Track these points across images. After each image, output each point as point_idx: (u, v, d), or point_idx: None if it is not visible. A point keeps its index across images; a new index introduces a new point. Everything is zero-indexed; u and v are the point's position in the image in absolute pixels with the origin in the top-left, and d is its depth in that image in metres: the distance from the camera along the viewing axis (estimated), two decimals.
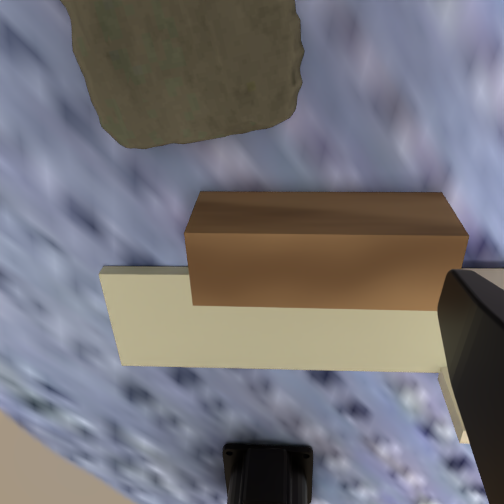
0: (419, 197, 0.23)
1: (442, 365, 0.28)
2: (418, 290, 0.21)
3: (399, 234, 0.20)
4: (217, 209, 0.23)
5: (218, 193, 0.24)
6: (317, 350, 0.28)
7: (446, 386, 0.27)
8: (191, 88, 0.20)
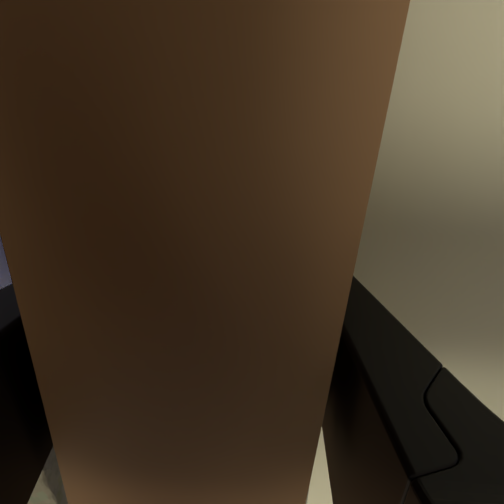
0: None
1: None
2: (263, 83, 0.04)
3: None
4: None
5: None
6: None
7: None
8: None
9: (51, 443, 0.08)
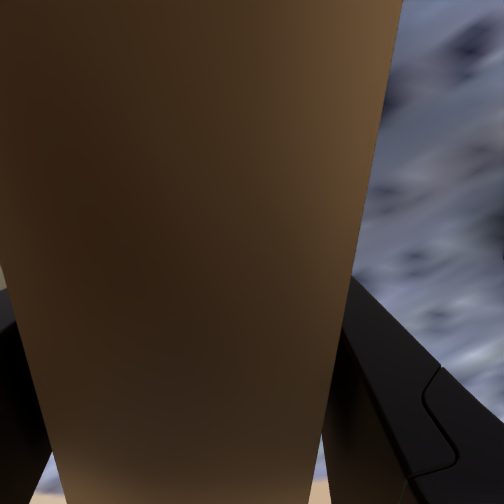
0: None
1: None
2: (255, 81, 0.04)
3: None
4: None
5: None
6: None
7: None
8: None
9: None
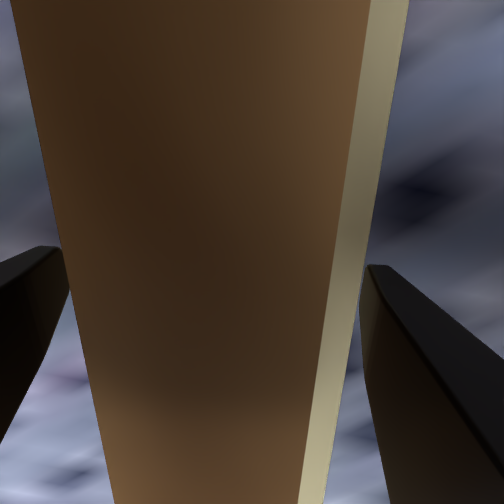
0: None
1: None
2: (261, 52, 0.05)
3: (42, 138, 0.06)
4: None
5: None
6: None
7: None
8: None
9: None
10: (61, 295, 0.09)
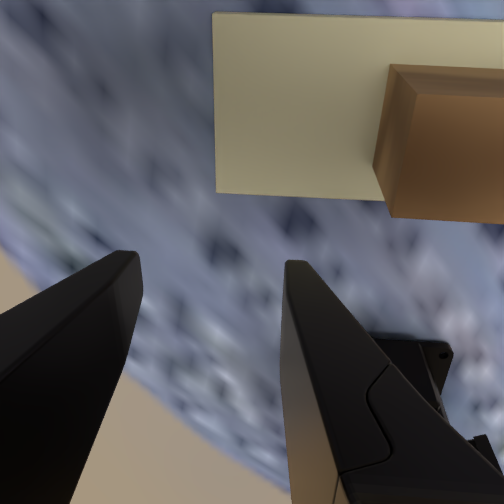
0: None
1: None
2: None
3: None
4: (438, 78, 0.16)
5: (419, 67, 0.17)
6: None
7: None
8: None
9: (89, 446, 0.08)
10: (137, 300, 0.09)
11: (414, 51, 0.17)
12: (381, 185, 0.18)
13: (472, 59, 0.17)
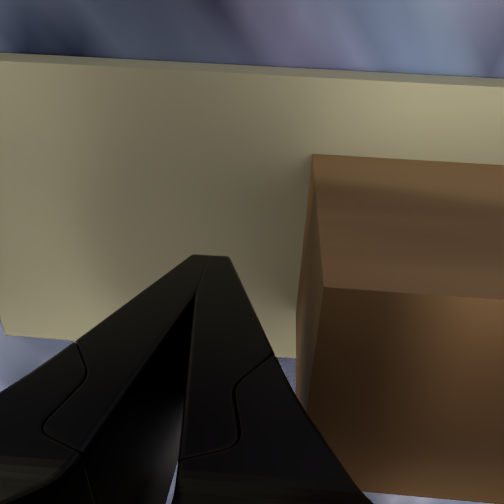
0: None
1: None
2: None
3: None
4: (390, 208, 0.08)
5: (363, 165, 0.09)
6: None
7: None
8: None
9: (178, 453, 0.08)
10: None
11: (299, 132, 0.09)
12: (296, 375, 0.10)
13: (406, 148, 0.09)
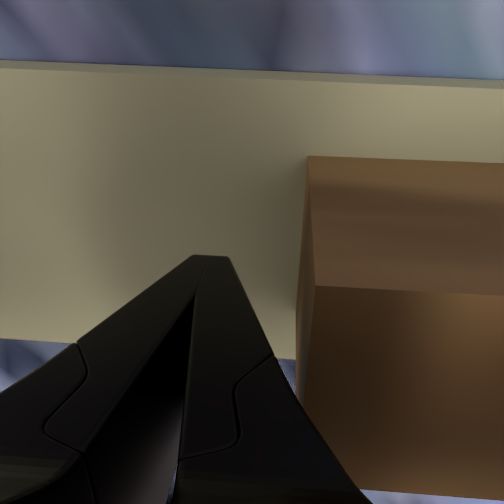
0: None
1: None
2: None
3: None
4: (384, 207, 0.08)
5: (357, 166, 0.09)
6: None
7: None
8: None
9: None
10: None
11: (88, 125, 0.10)
12: (296, 375, 0.10)
13: (191, 140, 0.10)
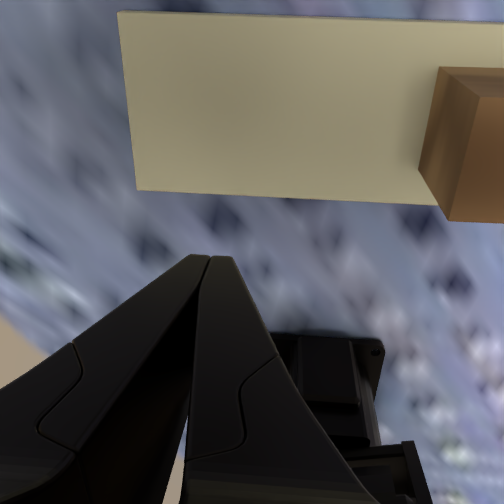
0: None
1: None
2: None
3: None
4: (493, 80, 0.15)
5: (469, 69, 0.17)
6: None
7: None
8: None
9: (175, 453, 0.08)
10: None
11: (317, 50, 0.17)
12: (432, 188, 0.18)
13: (374, 58, 0.17)
